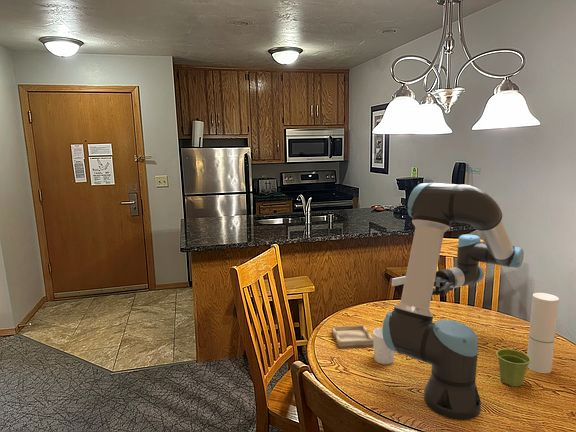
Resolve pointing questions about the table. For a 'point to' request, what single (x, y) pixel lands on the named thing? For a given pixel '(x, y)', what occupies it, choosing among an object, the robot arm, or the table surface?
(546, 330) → the cylindrical container
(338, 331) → the birch tray
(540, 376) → the table surface
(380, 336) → the white cup
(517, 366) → the plant pot
